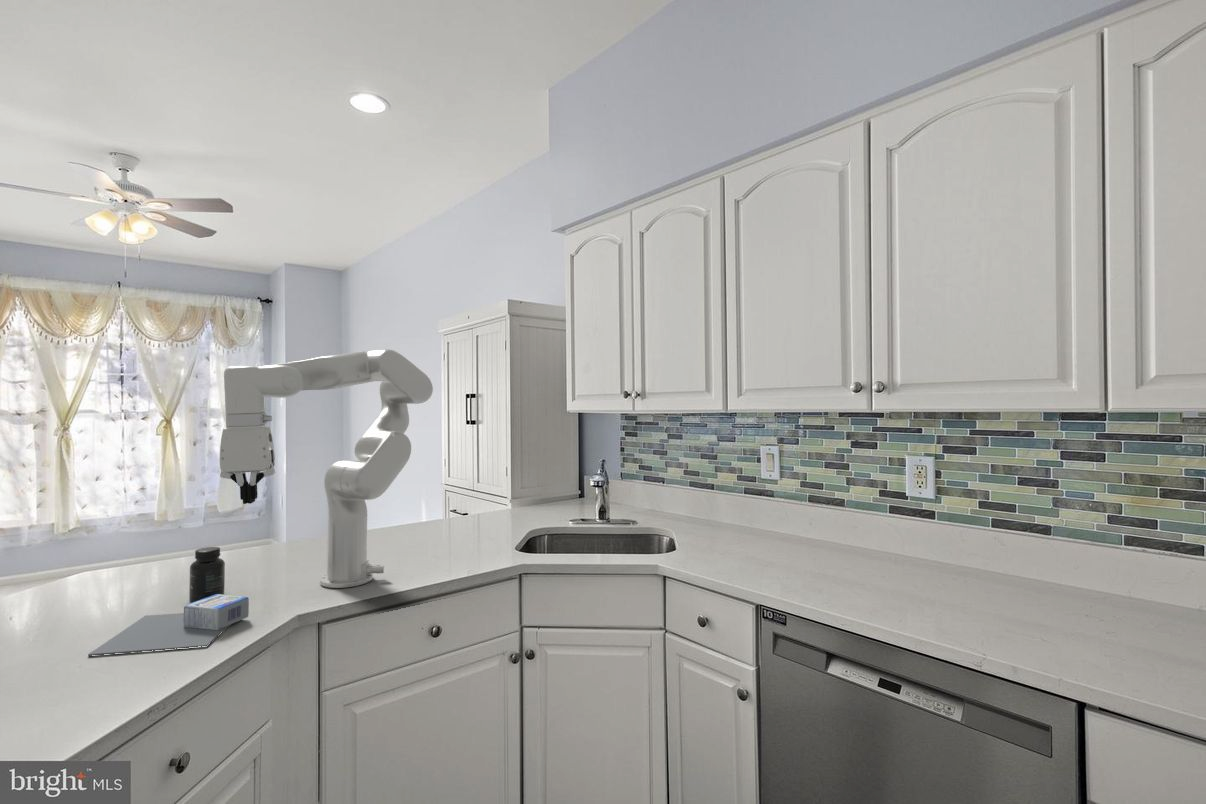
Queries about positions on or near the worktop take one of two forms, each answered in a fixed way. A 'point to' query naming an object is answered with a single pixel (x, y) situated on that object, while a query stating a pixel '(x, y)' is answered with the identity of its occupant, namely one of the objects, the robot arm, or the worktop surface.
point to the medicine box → (216, 611)
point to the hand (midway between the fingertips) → (249, 502)
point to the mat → (157, 636)
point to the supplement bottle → (206, 574)
